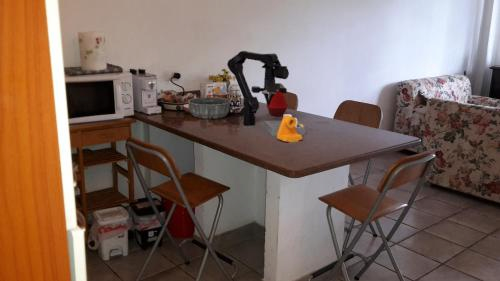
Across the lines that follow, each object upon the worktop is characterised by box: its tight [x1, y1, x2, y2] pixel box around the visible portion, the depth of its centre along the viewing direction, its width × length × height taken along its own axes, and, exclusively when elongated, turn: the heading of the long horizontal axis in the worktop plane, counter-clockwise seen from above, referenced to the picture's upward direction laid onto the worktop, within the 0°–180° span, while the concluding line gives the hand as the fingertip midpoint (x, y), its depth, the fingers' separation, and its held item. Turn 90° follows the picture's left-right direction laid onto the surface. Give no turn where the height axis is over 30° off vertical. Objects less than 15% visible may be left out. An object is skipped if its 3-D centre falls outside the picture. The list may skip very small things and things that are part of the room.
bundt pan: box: [187, 96, 232, 120], centre depth 282 cm, size 26×26×10 cm
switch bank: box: [263, 120, 306, 137], centre depth 249 cm, size 18×18×5 cm
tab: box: [282, 113, 293, 119], centre depth 253 cm, size 4×3×6 cm
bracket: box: [276, 116, 303, 143], centre depth 229 cm, size 11×7×12 cm, turn 119°
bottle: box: [266, 82, 289, 118], centre depth 290 cm, size 16×14×20 cm
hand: (268, 105), depth 253 cm, fingers closed
